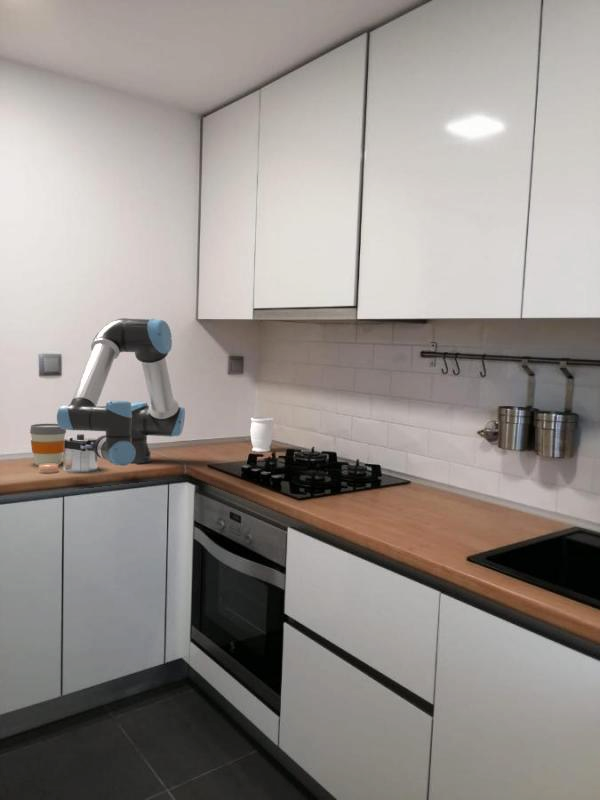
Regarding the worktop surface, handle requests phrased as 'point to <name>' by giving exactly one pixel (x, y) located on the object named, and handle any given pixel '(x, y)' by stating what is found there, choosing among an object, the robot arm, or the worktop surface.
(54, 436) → the reusable coffee cup
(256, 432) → the jar
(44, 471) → the beige low rounded block
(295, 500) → the worktop surface
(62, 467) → the mat
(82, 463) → the faceted metal canister
